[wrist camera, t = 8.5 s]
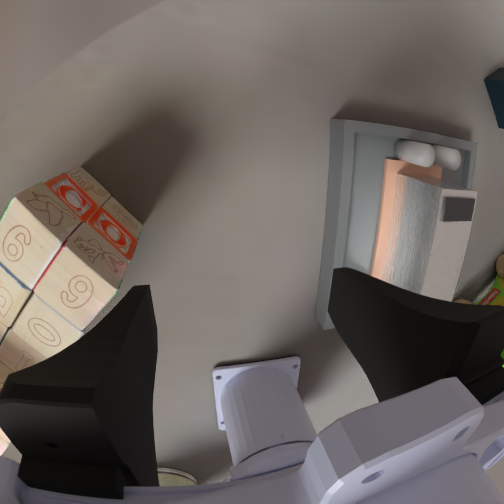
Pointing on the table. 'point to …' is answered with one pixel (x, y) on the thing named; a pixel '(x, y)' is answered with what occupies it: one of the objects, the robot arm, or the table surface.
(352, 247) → the tray
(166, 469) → the coffee can
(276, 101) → the table surface
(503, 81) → the watch
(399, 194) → the drive
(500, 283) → the toy lion
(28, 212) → the stack of blocks
